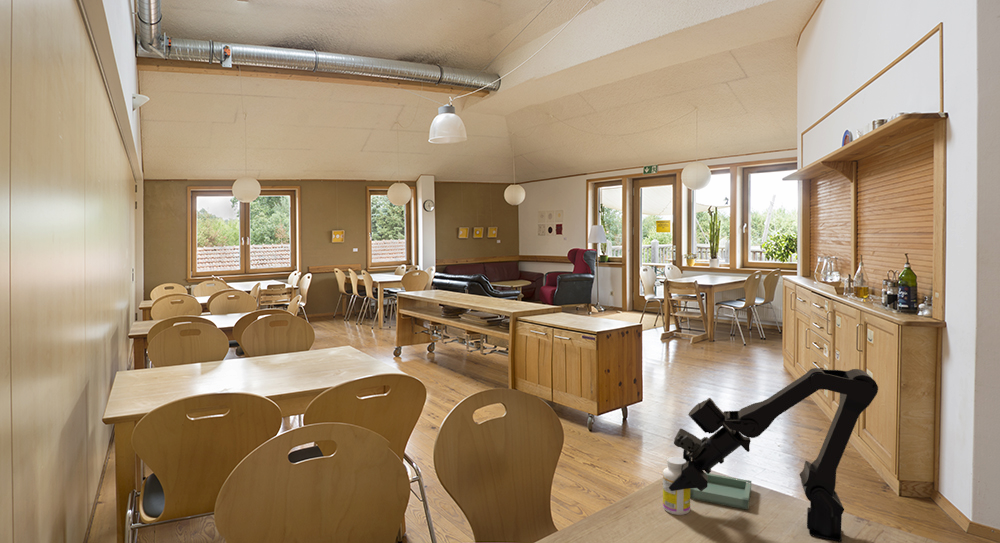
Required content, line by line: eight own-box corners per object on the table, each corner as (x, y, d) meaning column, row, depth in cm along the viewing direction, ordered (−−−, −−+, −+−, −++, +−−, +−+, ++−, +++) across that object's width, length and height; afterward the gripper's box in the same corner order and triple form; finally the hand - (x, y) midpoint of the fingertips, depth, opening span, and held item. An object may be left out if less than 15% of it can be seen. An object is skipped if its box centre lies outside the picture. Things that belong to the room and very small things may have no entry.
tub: (751, 489, 156) (751, 480, 156) (747, 509, 145) (748, 500, 145) (695, 479, 162) (696, 471, 162) (688, 498, 151) (688, 488, 151)
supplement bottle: (686, 503, 148) (687, 455, 147) (692, 516, 142) (693, 466, 141) (660, 502, 149) (661, 454, 148) (665, 515, 142) (665, 465, 141)
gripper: (695, 410, 151) (651, 445, 155) (693, 434, 133) (644, 473, 138) (726, 442, 149) (681, 477, 153) (728, 471, 131) (677, 510, 136)
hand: (670, 483), depth 145 cm, fingers closed on supplement bottle, 6 cm apart
